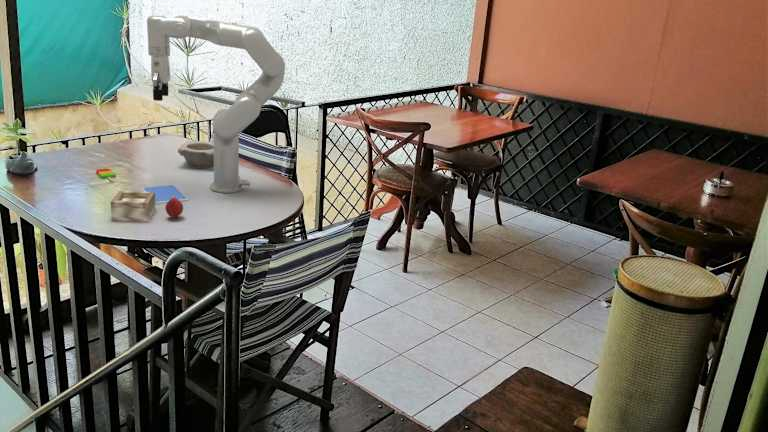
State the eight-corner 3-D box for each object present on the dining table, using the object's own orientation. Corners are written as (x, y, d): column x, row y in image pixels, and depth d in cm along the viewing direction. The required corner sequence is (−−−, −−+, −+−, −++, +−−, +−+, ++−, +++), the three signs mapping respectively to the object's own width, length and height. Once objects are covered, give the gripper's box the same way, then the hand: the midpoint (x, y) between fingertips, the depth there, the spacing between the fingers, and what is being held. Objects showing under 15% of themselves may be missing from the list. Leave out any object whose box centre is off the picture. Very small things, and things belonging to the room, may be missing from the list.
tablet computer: (141, 190, 265) (141, 187, 265) (174, 187, 271) (174, 184, 271) (154, 205, 250) (154, 202, 249) (188, 202, 256) (188, 198, 256)
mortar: (212, 173, 291) (212, 152, 288) (174, 168, 293) (174, 147, 290) (226, 163, 307) (226, 143, 304) (190, 158, 308) (189, 139, 305)
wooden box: (155, 210, 245) (154, 192, 242) (148, 222, 233) (147, 203, 231) (120, 209, 243) (119, 190, 241) (111, 221, 232) (110, 202, 230)
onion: (178, 222, 235) (177, 200, 232) (162, 219, 236) (161, 197, 233) (186, 216, 240) (185, 195, 238) (171, 214, 241) (170, 192, 239)
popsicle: (109, 172, 283) (109, 168, 283) (119, 182, 272) (119, 178, 271) (95, 173, 280) (95, 169, 279) (105, 184, 269) (105, 179, 268)
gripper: (164, 54, 242) (166, 103, 247) (174, 49, 258) (176, 94, 264) (142, 53, 241) (144, 101, 247) (154, 47, 257) (156, 93, 263)
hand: (161, 98), depth 255 cm, fingers open, 9 cm apart
